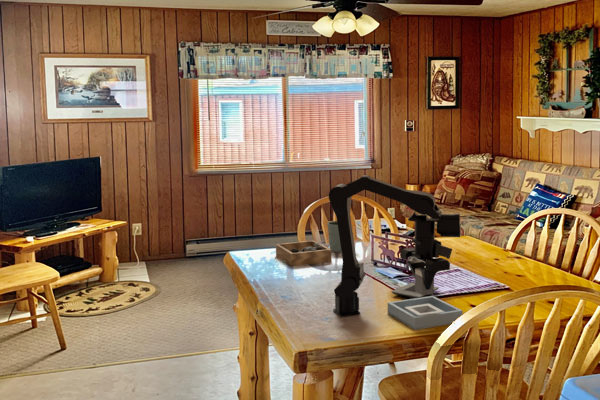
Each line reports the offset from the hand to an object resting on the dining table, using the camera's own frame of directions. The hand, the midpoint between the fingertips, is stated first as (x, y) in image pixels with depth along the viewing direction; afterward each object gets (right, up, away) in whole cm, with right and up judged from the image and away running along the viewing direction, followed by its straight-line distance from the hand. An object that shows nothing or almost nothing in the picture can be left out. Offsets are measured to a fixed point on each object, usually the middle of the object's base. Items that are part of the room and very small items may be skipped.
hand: (424, 287), depth 201 cm
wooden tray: (-35, +2, +77) cm, 85 cm away
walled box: (0, -9, +1) cm, 9 cm away
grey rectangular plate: (+2, -6, +25) cm, 26 cm away
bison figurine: (-34, +1, +75) cm, 82 cm away
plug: (0, -2, 0) cm, 2 cm away
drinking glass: (-20, +4, +91) cm, 93 cm away
